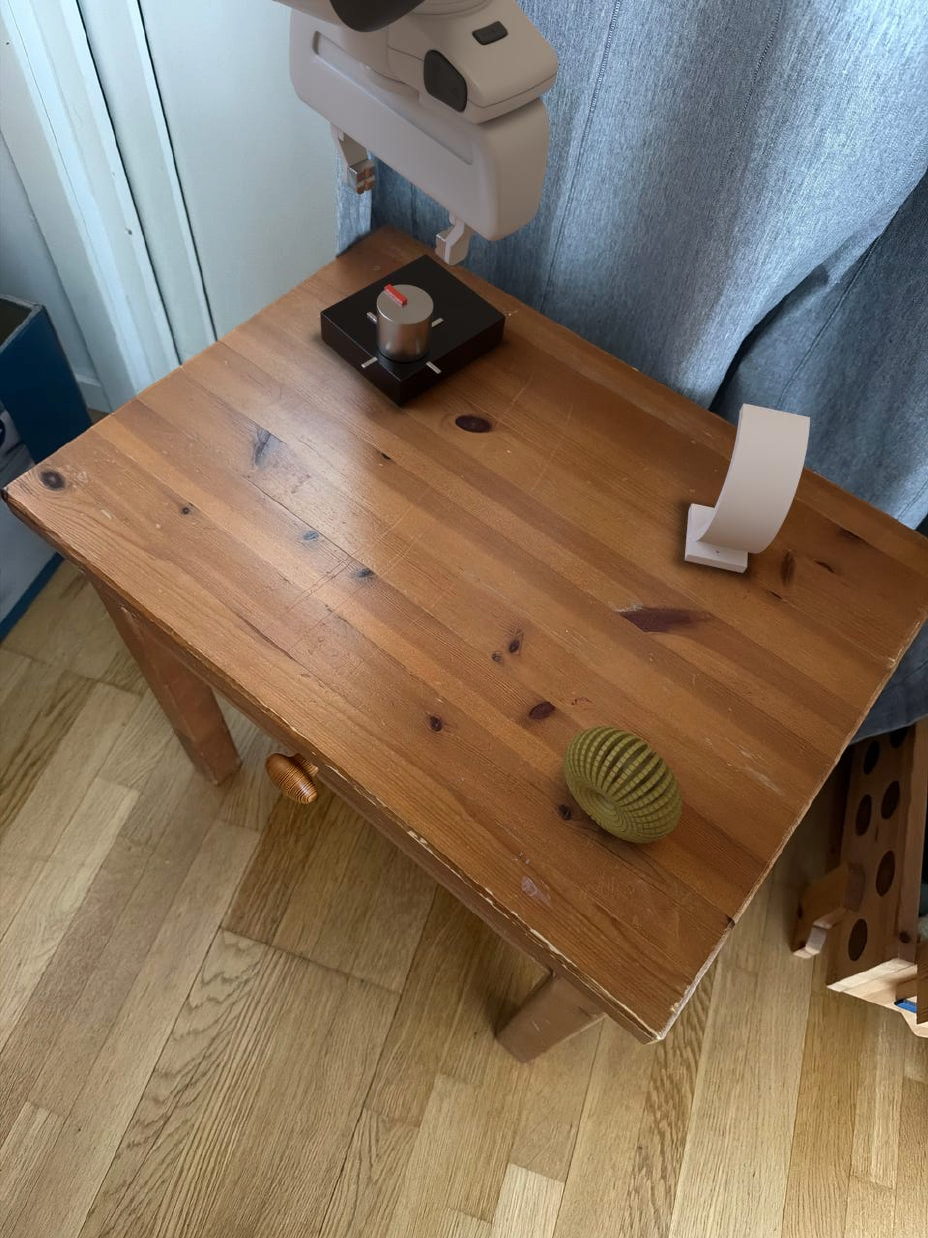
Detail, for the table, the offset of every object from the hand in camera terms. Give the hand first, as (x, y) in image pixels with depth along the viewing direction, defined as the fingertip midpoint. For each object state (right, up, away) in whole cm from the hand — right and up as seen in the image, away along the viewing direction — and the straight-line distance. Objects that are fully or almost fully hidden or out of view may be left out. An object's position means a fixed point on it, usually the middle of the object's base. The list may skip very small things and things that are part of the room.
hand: (404, 221), depth 63 cm
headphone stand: (+24, -22, +7) cm, 33 cm away
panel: (0, -4, +15) cm, 15 cm away
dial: (-1, -5, +10) cm, 12 cm away
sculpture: (+13, -40, -4) cm, 43 cm away
